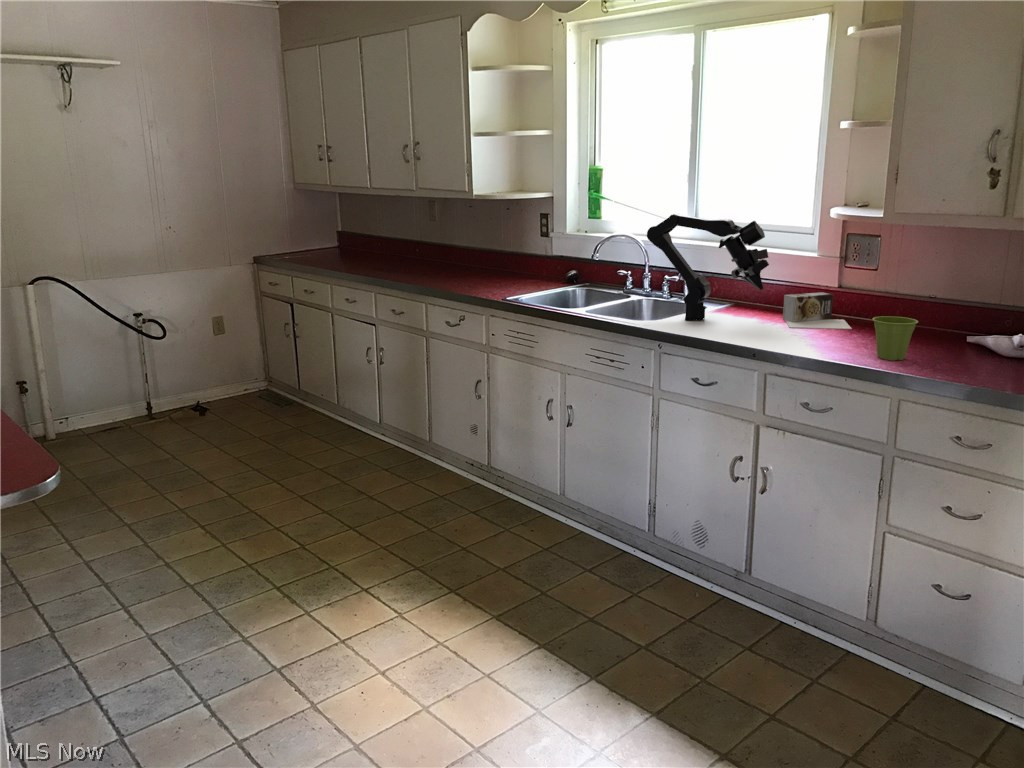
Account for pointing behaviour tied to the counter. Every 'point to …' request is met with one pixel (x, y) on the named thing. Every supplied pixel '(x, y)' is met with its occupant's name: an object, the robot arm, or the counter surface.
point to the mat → (820, 324)
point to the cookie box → (807, 307)
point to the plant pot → (893, 336)
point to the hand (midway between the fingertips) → (761, 289)
